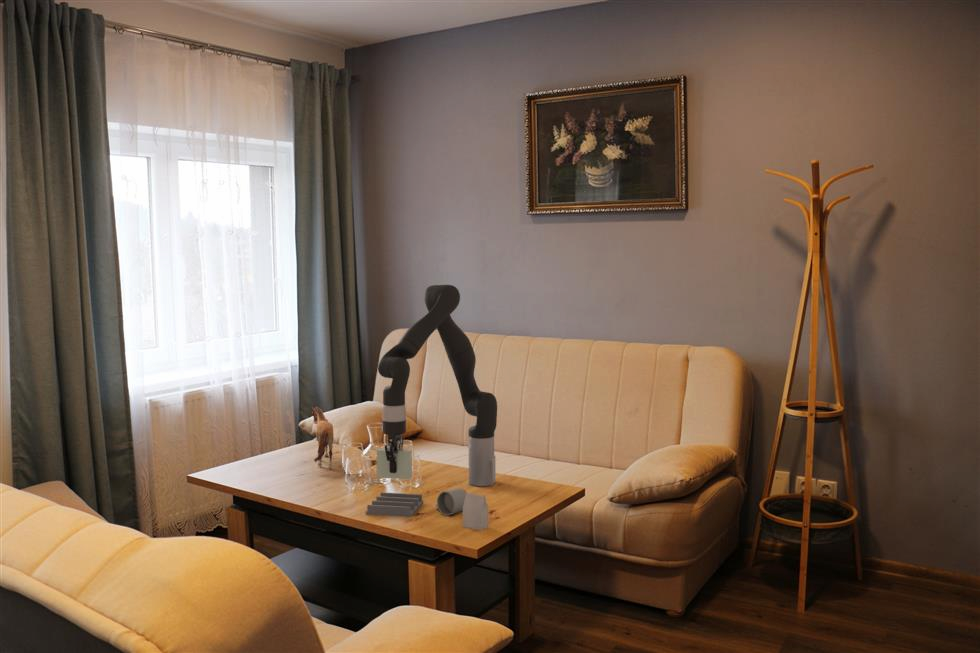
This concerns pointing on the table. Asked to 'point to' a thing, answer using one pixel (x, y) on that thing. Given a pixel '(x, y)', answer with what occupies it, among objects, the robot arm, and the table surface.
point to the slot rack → (395, 504)
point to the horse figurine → (323, 435)
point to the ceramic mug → (451, 501)
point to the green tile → (402, 465)
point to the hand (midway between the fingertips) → (394, 471)
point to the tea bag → (475, 512)
